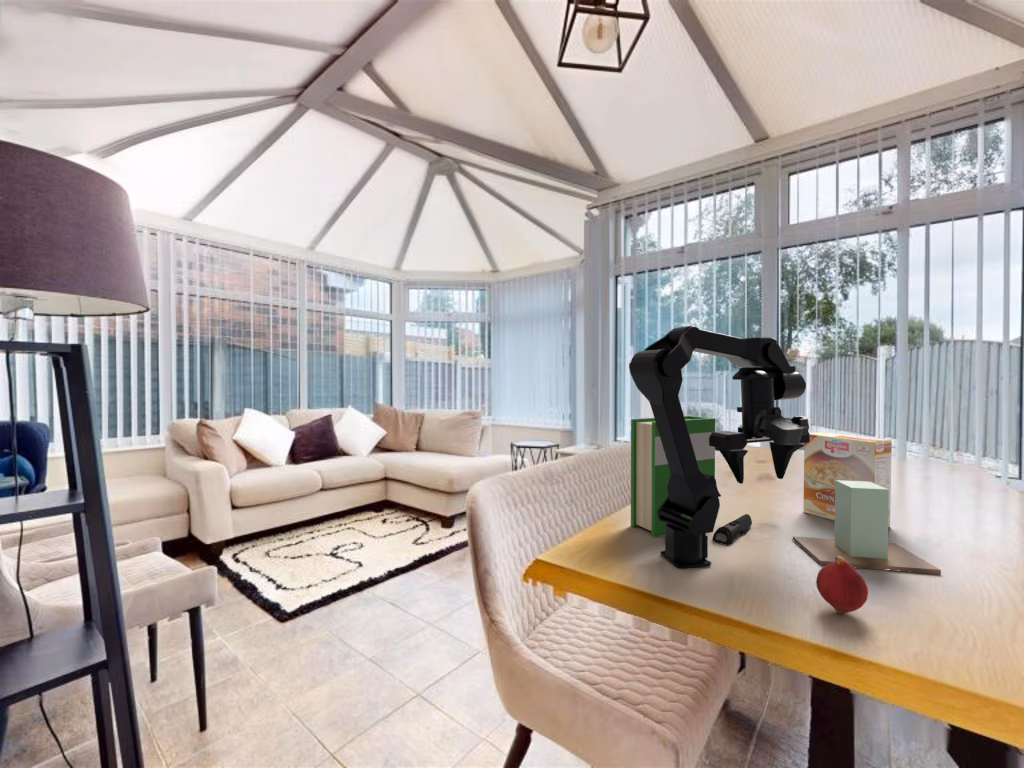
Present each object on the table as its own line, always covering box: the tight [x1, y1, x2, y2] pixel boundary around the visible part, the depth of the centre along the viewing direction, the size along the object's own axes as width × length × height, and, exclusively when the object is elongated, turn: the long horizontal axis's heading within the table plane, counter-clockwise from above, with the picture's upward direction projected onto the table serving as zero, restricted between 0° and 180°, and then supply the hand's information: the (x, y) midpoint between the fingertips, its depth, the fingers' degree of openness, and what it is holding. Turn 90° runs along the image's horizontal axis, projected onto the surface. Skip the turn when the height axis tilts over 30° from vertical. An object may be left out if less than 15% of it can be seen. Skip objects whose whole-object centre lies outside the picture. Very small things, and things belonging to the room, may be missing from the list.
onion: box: [815, 556, 869, 614], centre depth 62 cm, size 6×6×8 cm
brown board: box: [792, 535, 942, 575], centre depth 82 cm, size 18×12×4 cm, turn 78°
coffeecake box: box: [802, 431, 893, 528], centre depth 102 cm, size 15×7×20 cm, turn 25°
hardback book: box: [630, 415, 716, 538], centre depth 98 cm, size 18×7×24 cm, turn 115°
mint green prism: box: [834, 480, 889, 559], centre depth 82 cm, size 6×6×12 cm
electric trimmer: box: [712, 513, 753, 546], centre depth 93 cm, size 4×16×3 cm, turn 133°
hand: (760, 480), depth 87 cm, fingers open, 9 cm apart
